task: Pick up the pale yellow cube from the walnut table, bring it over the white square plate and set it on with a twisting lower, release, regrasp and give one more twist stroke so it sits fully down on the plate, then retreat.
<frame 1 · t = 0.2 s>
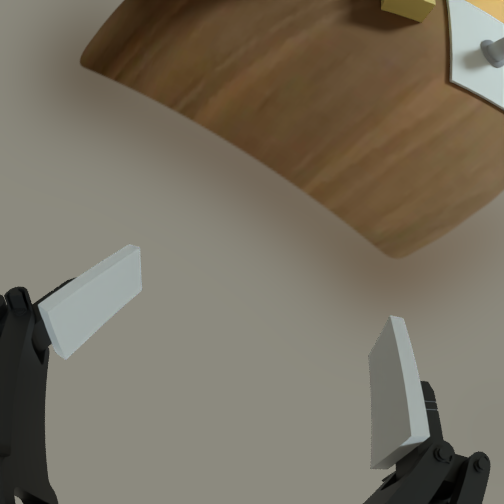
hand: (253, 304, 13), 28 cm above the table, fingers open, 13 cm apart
white square plate: (489, 55, 19), on the table
pale yellow cube: (401, 1, 21), on the table
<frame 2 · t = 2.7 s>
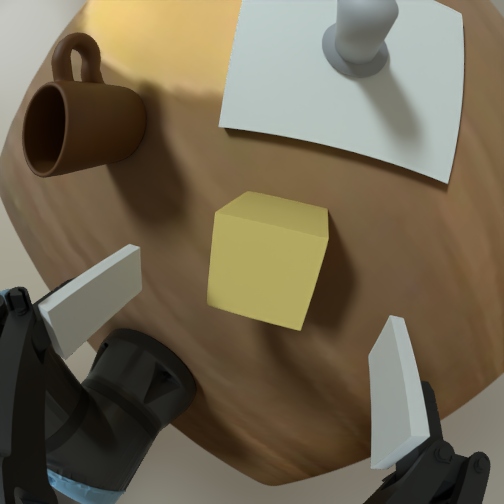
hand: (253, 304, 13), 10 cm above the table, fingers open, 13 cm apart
white square plate: (353, 52, 15), on the table
pale yellow cube: (279, 236, 22), on the table
mug: (122, 102, 21), on the table
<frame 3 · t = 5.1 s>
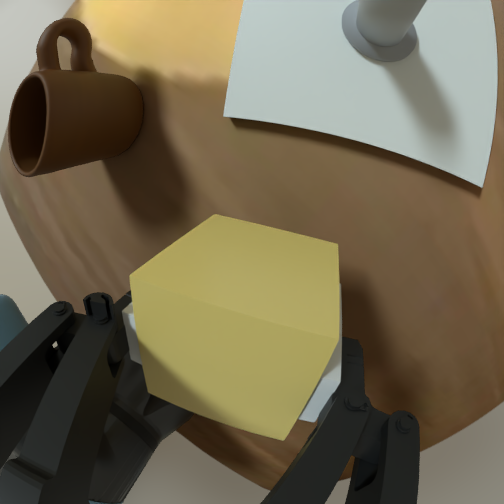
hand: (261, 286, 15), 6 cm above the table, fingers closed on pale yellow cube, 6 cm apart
white square plate: (377, 34, 12), on the table
pale yellow cube: (263, 282, 15), point 6 cm above the table, touching gripper
mug: (119, 92, 19), on the table
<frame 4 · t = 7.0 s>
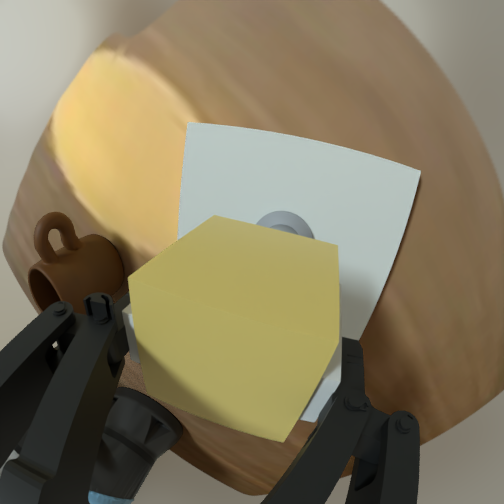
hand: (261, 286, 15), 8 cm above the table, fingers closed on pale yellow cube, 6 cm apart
white square plate: (284, 236, 22), on the table
pale yellow cube: (263, 284, 15), point 8 cm above the table, touching gripper
mug: (102, 244, 28), on the table
when the fingers open (3 cm above the table, at t = 9.1 s): pale yellow cube stays where it is, resting on white square plate.
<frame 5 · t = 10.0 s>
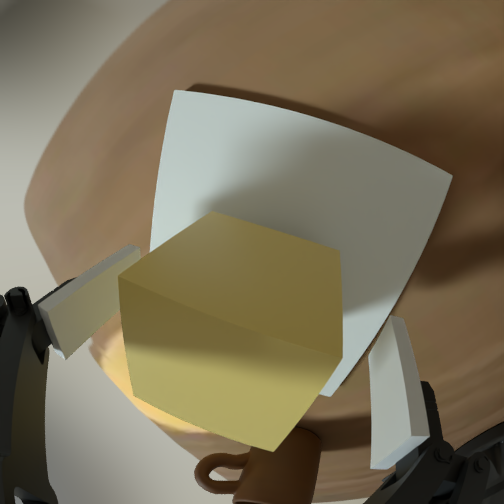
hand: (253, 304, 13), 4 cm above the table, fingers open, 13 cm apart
white square plate: (271, 264, 17), on the table
pale yellow cube: (259, 285, 14), point 3 cm above the table, touching white square plate
mug: (270, 432, 25), on the table
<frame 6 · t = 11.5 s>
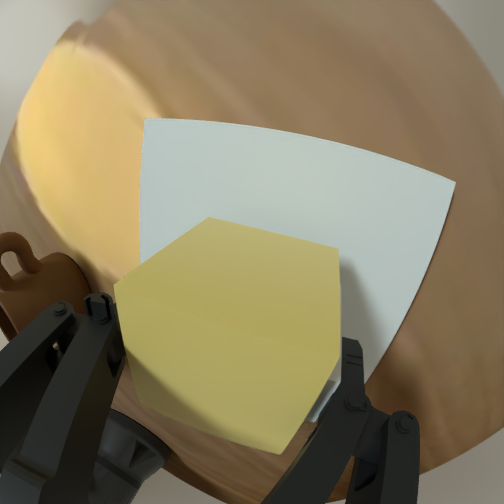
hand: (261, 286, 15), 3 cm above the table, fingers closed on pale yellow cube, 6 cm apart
white square plate: (271, 266, 17), on the table
pale yellow cube: (260, 289, 14), point 3 cm above the table, touching gripper, white square plate
mug: (68, 264, 23), on the table
when the fingers open (4 cm above the table, at t = 12.5 s): pale yellow cube drops 1 cm, resting on white square plate.
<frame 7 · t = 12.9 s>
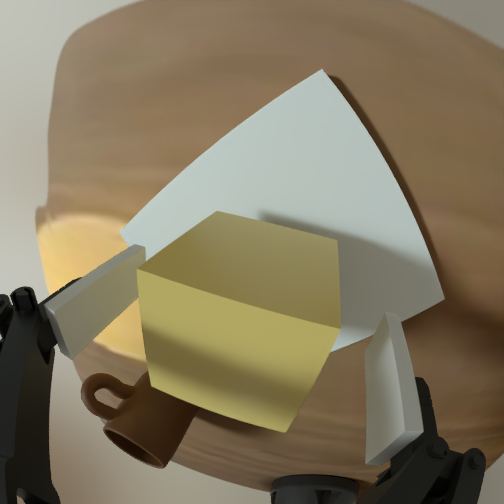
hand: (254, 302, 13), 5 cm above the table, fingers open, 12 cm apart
white square plate: (275, 258, 18), on the table
pale yellow cube: (264, 278, 15), point 3 cm above the table, touching white square plate
mug: (159, 376, 28), on the table
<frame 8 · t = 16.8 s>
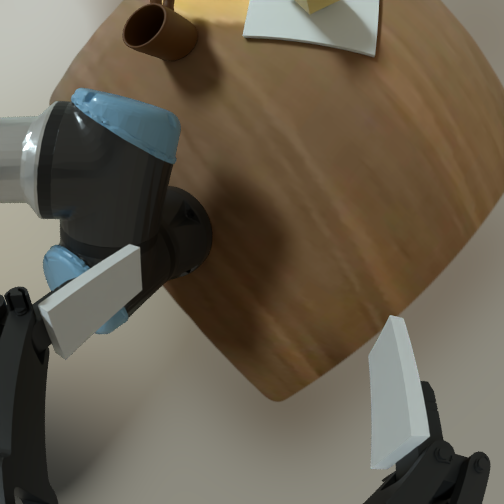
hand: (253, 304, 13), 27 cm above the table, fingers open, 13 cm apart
white square plate: (314, 0, 24), on the table
mug: (181, 30, 31), on the table
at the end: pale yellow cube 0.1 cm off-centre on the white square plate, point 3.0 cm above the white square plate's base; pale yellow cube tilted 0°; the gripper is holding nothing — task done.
